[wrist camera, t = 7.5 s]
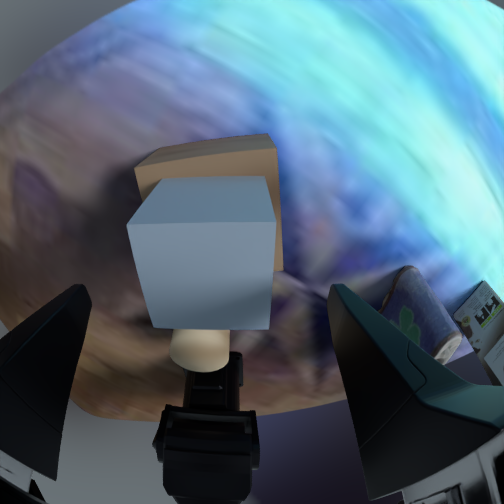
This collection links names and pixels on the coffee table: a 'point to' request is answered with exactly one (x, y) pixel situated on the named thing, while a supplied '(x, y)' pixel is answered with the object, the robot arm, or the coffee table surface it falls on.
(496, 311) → the coffee box
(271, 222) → the blue cube
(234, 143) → the tan block
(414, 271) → the flask
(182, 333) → the beech cylinder
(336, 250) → the coffee table surface
